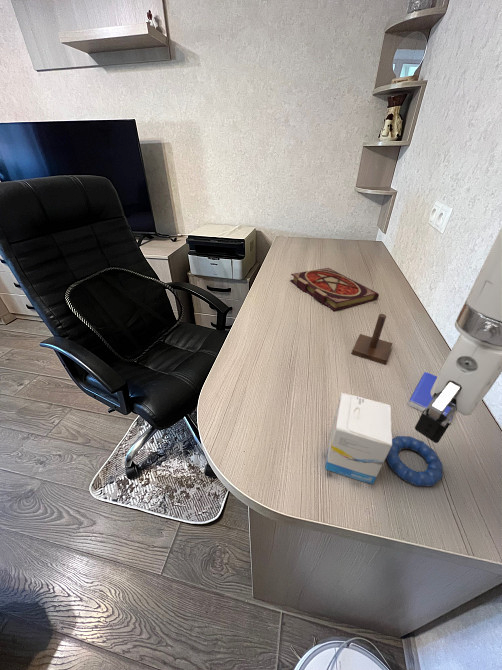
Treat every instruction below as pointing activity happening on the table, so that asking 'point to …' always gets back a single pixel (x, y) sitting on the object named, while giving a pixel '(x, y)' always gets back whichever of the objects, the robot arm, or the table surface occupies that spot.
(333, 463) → the ink box
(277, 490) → the table surface
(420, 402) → the hard drive
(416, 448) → the blue teething ring
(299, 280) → the book
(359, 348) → the stand
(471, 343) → the robot arm
